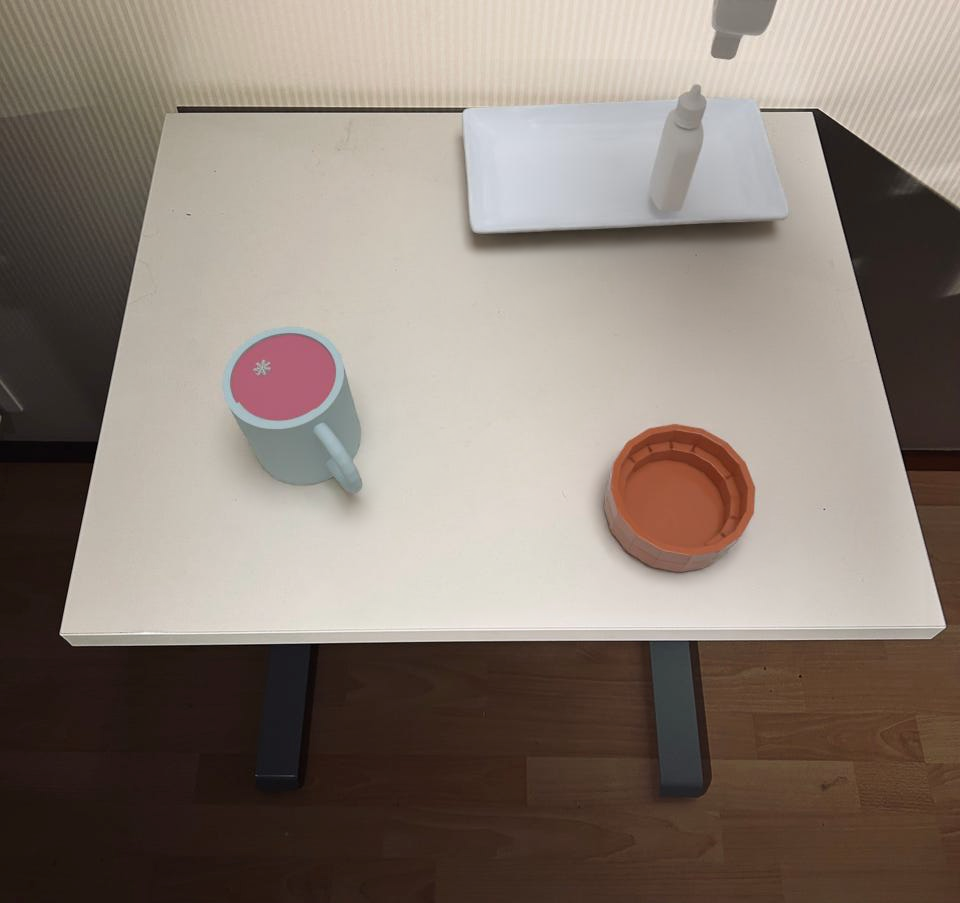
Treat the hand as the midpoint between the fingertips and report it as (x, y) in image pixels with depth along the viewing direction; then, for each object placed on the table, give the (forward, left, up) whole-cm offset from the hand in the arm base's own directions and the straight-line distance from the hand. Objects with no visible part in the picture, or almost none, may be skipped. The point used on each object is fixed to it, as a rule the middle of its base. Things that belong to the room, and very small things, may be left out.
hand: (726, 12), depth 61 cm
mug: (+26, +32, -23) cm, 48 cm away
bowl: (-3, +31, -23) cm, 39 cm away
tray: (+6, -4, -23) cm, 24 cm away
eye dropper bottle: (+1, -1, -20) cm, 20 cm away
